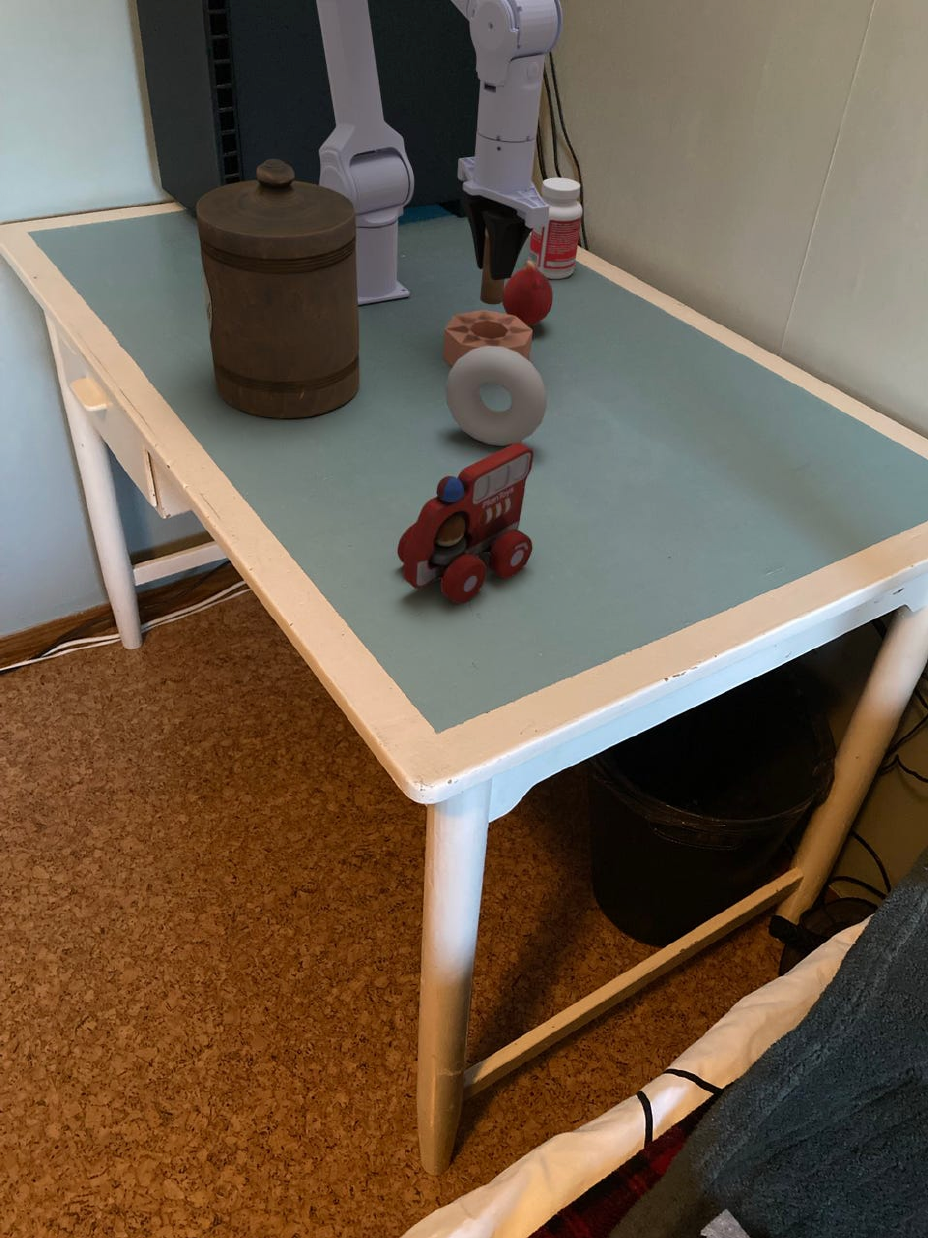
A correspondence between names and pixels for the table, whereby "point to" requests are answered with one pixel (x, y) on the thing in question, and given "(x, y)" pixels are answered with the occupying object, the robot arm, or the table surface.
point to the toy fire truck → (471, 526)
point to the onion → (528, 295)
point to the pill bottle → (557, 229)
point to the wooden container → (281, 293)
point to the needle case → (490, 279)
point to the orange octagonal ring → (485, 334)
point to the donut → (507, 373)
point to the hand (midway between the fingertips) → (494, 272)
